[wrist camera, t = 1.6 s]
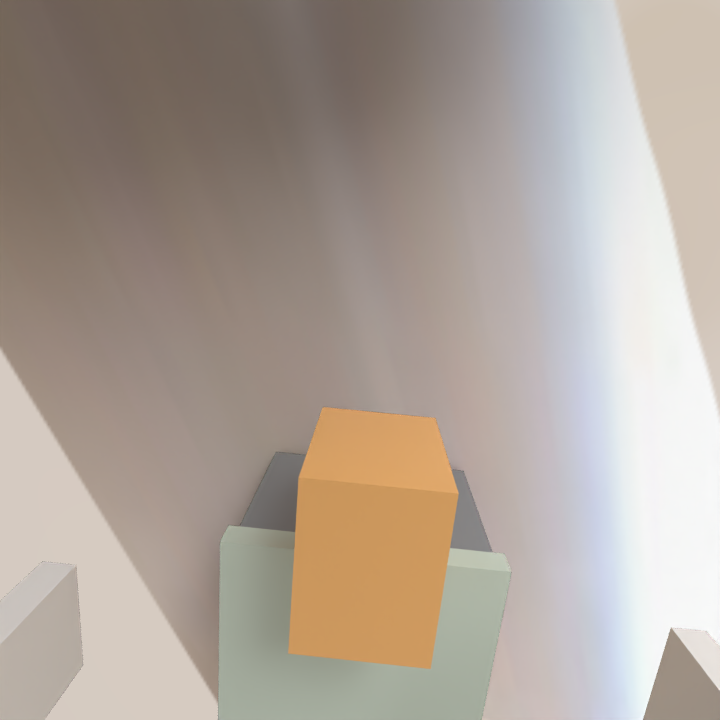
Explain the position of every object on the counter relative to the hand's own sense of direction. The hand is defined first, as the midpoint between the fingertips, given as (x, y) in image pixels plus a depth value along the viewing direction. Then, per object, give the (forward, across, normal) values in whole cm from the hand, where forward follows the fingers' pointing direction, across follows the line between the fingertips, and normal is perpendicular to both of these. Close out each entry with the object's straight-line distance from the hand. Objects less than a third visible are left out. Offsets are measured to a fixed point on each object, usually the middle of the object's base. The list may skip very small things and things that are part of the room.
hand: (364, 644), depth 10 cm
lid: (+8, 0, -6) cm, 10 cm away
